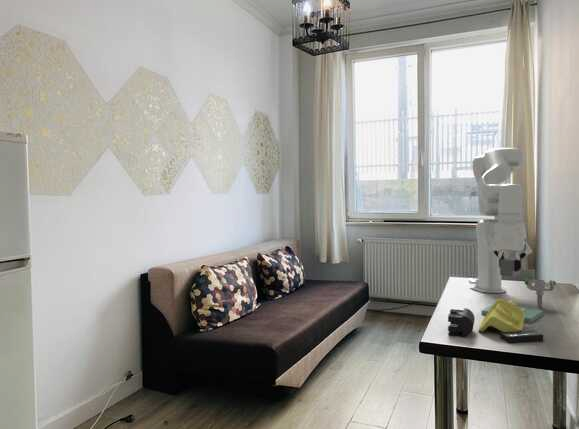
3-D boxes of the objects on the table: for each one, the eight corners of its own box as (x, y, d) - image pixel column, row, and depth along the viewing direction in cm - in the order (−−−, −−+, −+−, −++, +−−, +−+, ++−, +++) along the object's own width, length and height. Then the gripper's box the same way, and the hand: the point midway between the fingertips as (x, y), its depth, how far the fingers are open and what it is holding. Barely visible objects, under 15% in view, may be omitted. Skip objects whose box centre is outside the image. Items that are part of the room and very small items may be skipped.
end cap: (473, 339, 130) (473, 316, 129) (447, 336, 133) (447, 314, 132) (474, 329, 139) (474, 308, 138) (450, 327, 142) (450, 306, 141)
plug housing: (500, 275, 154) (500, 259, 154) (507, 272, 160) (508, 257, 160) (512, 276, 151) (512, 260, 151) (520, 273, 157) (520, 258, 157)
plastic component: (521, 331, 129) (488, 313, 133) (509, 351, 131) (477, 332, 135) (525, 311, 145) (496, 295, 150) (514, 329, 148) (485, 313, 152)
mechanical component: (556, 307, 163) (556, 281, 163) (526, 306, 165) (526, 280, 165) (552, 305, 166) (553, 279, 166) (523, 304, 168) (524, 279, 168)
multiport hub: (499, 339, 130) (500, 332, 129) (533, 337, 131) (533, 329, 131) (509, 344, 125) (509, 337, 125) (544, 342, 127) (544, 334, 127)
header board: (481, 314, 155) (481, 300, 155) (495, 307, 165) (495, 293, 165) (530, 323, 144) (531, 308, 144) (542, 314, 154) (542, 300, 154)
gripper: (481, 218, 158) (481, 269, 158) (533, 219, 146) (532, 274, 147) (489, 218, 163) (489, 266, 164) (539, 219, 151) (539, 271, 152)
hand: (509, 269), depth 155 cm, fingers closed on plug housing, 4 cm apart
